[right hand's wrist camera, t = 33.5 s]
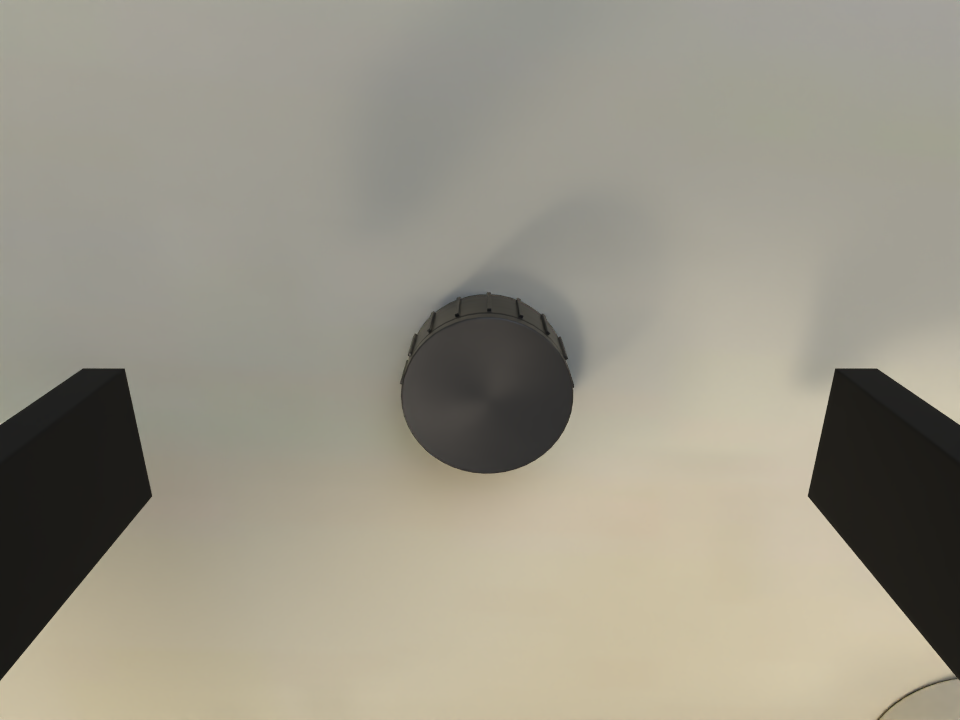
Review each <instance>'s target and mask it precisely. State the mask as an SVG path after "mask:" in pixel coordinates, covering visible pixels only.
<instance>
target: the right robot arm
mask: <svg viewBox="0 0 960 720" xmlns="http://www.w3.org/2000/svg"><path fill="white" fill-rule="evenodd" d="M151 497H152V493H151V488H150V484H149V479H148V475H147V470H146V465H145V461H144V456H143V451H142V447H141V442H140V437H139V433H138V428H137V424H136V419H135V414H134V410H133V405H132V400H131V396H130V391H129V386H128V382H127V377H126V373H125V369H82V370H80V371H79V372H77V373H76V374H74V375H73V376H71V377H70V378H69V379H67V380H66V381H64V382H63V383H61V384H60V385H58V386H57V387H55V388H54V389H52V390H51V391H49V392H48V393H47V394H45V395H44V396H42V397H41V398H39V399H38V400H36V401H35V402H33V403H32V404H30V405H29V406H27V407H26V408H25V409H23V410H22V411H20V412H19V413H17V414H16V415H14V416H13V417H11V418H10V419H8V420H7V421H6V422H4V423H3V424H1V425H0V680H1V679H2V678H3V677H4V675H5V674H6V673H7V672H8V671H9V669H10V668H11V667H12V666H13V665H14V663H15V662H16V661H17V660H18V658H19V657H20V656H21V655H22V654H23V652H24V651H25V650H26V649H27V648H28V646H29V645H30V644H31V643H32V641H33V640H34V639H35V638H36V637H37V635H38V634H39V633H40V632H41V631H42V629H43V628H44V627H45V626H46V624H47V623H48V622H49V621H50V620H51V618H52V617H53V616H54V615H55V614H56V612H57V611H58V610H59V609H60V607H61V606H62V605H63V604H64V603H65V601H66V600H67V599H68V598H69V597H70V595H71V594H72V593H73V592H74V590H75V589H76V588H77V587H78V586H79V584H80V583H81V582H82V581H83V580H84V578H85V577H86V576H87V575H88V573H89V572H90V571H91V570H92V569H93V567H94V566H95V565H96V564H97V563H98V561H99V560H100V559H101V558H102V556H103V555H104V554H105V553H106V552H107V550H108V549H109V548H110V547H111V546H112V544H113V543H114V542H115V541H116V539H117V538H118V537H119V536H120V535H121V533H122V532H123V531H124V530H125V529H126V527H127V526H128V525H129V524H130V522H131V521H132V520H133V519H134V518H135V516H136V515H137V514H138V513H139V512H140V510H141V509H142V508H143V507H144V505H145V504H146V503H147V502H148V501H149V499H150V498H151ZM808 497H809V498H810V499H811V501H812V502H813V503H814V504H815V505H816V507H817V508H818V509H819V510H820V512H821V513H822V514H823V515H824V516H825V518H826V519H827V520H828V521H829V522H830V524H831V525H832V526H833V527H834V529H835V530H836V531H837V532H838V533H839V535H840V536H841V537H842V538H843V539H844V541H845V542H846V543H847V544H848V546H849V547H850V548H851V549H852V550H853V552H854V553H855V554H856V555H857V556H858V558H859V559H860V560H861V561H862V563H863V564H864V565H865V566H866V567H867V569H868V570H869V571H870V572H871V573H872V575H873V576H874V577H875V578H876V580H877V581H878V582H879V583H880V584H881V586H882V587H883V588H884V589H885V590H886V592H887V593H888V594H889V595H890V597H891V598H892V599H893V600H894V601H895V603H896V604H897V605H898V606H899V607H900V609H901V610H902V611H903V612H904V614H905V615H906V616H907V617H908V618H909V620H910V621H911V622H912V623H913V624H914V626H915V627H916V628H917V629H918V631H919V632H920V633H921V634H922V635H923V637H924V638H925V639H926V640H927V641H928V643H929V644H930V645H931V646H932V648H933V649H934V650H935V651H936V652H937V654H938V655H939V656H940V657H941V658H942V660H943V661H944V662H945V663H946V665H947V666H948V667H949V668H950V669H951V671H952V672H953V673H954V674H955V675H956V677H957V678H958V679H959V680H960V425H959V424H957V423H956V422H954V421H953V420H952V419H950V418H949V417H947V416H946V415H944V414H943V413H941V412H940V411H938V410H937V409H935V408H934V407H932V406H931V405H930V404H928V403H927V402H925V401H924V400H922V399H921V398H919V397H918V396H916V395H915V394H913V393H912V392H911V391H909V390H908V389H906V388H905V387H903V386H902V385H900V384H899V383H897V382H896V381H894V380H893V379H891V378H890V377H889V376H887V375H886V374H884V373H883V372H881V371H880V370H878V369H835V373H834V377H833V382H832V386H831V391H830V396H829V400H828V405H827V410H826V414H825V419H824V424H823V428H822V433H821V437H820V442H819V447H818V451H817V456H816V461H815V465H814V470H813V475H812V479H811V484H810V488H809V493H808Z"/></svg>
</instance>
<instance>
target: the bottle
mask: <svg viewBox="0 0 960 720" xmlns="http://www.w3.org/2000/svg"><path fill="white" fill-rule="evenodd" d="M879 720H960V680H959V679H953V680H948V681H944V682H940V683H937V684H934V685H931V686H928V687H925V688H923V689H921V690H919V691H916V692H914V693H913V694H911V695H909V696H907V697H905V698H904V699H902V700H901V701H899V702H898V703H896V704H895V705H894V706H893V707H892V708H890V709H889V710H888V711H887V712H886V713H885V714H884V715H883V716H882V717H881V718H880V719H879Z"/></svg>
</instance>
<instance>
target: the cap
mask: <svg viewBox="0 0 960 720" xmlns="http://www.w3.org/2000/svg"><path fill="white" fill-rule="evenodd" d="M408 356H409V360H407V361H406V365H405V368H404V371H403V375H402V378H401V383H400V384H402V389H401V401H402V409H403V413H404V417H405V419H406V422H407V425H408V427H409V429H410V430H411V432H412V434H413V436H414V437H415V438H416V440H417V441H418V442H419V443H420V445H421V446H422V447H423V448H424V449H425V450H426V451H427V452H429V453H430V454H431V455H432V456H434V457H435V458H437V459H438V460H440V461H441V462H443V463H445V464H447V465H449V466H452V467H454V468H457V469H460V470H463V471H468V472H473V473H500V472H506V471H510V470H514V469H517V468H520V467H522V466H525V465H527V464H529V463H531V462H533V461H535V460H536V459H538V458H539V457H540V456H542V455H543V454H544V453H546V452H547V451H548V450H549V449H550V448H551V447H552V446H553V445H554V444H555V442H556V441H557V440H558V439H559V437H560V436H561V434H562V433H563V431H564V429H565V427H566V425H567V423H568V421H569V417H570V414H571V410H572V405H573V388H574V384H573V380H572V377H571V374H570V371H569V368H568V364H567V362H566V359H568V357H567V354H566V351H565V348H564V345H563V342H562V339H561V337H557V335H556V333H555V331H554V330H553V328H552V326H551V325H550V324H549V323H548V322H547V320H546V316H545V315H544V314H542V315H541V314H540V313H538V312H537V311H536V310H534V309H533V308H531V307H530V306H528V305H526V304H524V303H523V302H521V299H519V298H517V300H515V299H513V298H509V297H505V296H501V295H491V293H490V292H487V295H474V296H468V297H465V298H461V297H458V298H457V300H456V301H454V302H451V303H449V304H447V305H446V306H444V307H442V308H441V309H439V310H438V311H437V312H436V313H435V312H434V311H433V312H432V313H431V316H430V318H429V319H428V320H427V321H426V322H425V324H424V325H423V326H422V328H421V329H420V331H419V333H418V335H417V334H415V335H414V337H413V340H412V343H411V347H410V350H409V354H408Z"/></svg>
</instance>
